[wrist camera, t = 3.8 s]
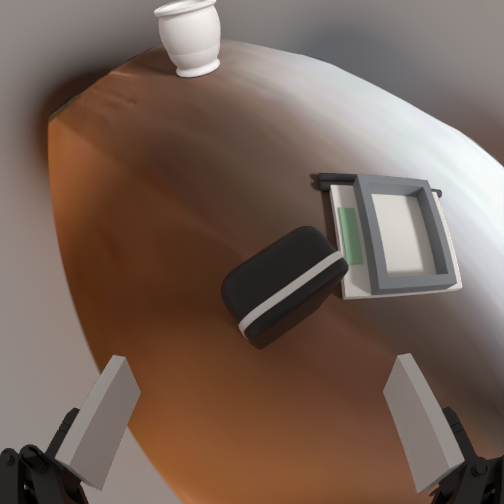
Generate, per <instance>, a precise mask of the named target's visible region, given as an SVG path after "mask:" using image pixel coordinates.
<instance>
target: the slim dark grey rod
mask: <svg viewBox="0 0 504 504" xmlns="http://www.w3.org/2000/svg"><path fill="white" fill-rule="evenodd" d="M356 176H357V175H356V174H335V173H319V175H318V179H319V182H320V191H330V189H331V185H348V186H353V184H354V181H355V178H356ZM431 191H432V192H436V193H437V196H438V198H440V197H441V196H442V192H441V190H437V189H431Z"/></svg>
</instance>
